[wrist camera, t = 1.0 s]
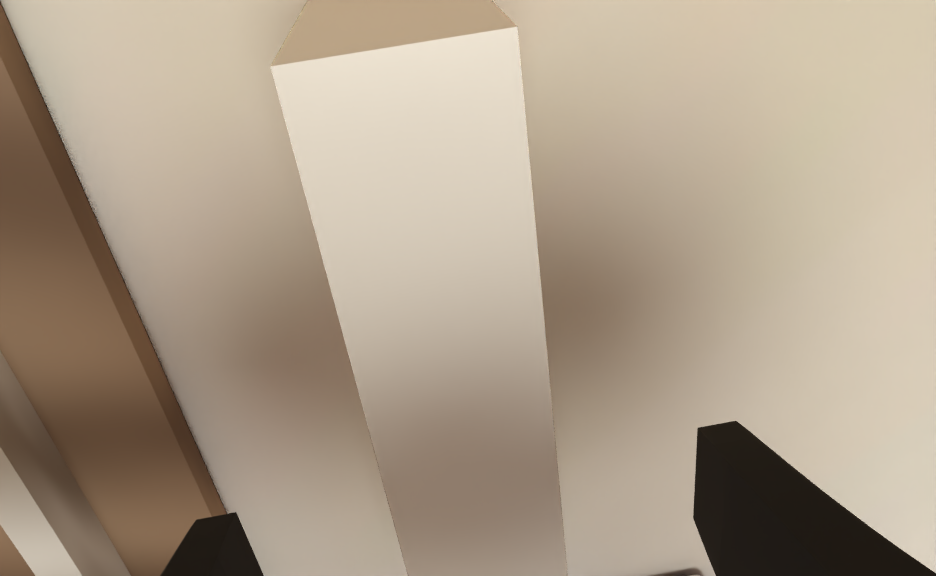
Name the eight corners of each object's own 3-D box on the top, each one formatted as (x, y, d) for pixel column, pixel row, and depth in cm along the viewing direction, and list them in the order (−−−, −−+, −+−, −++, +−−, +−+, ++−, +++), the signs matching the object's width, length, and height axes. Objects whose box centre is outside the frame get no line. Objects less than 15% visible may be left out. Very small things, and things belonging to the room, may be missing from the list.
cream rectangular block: (527, 484, 21) (597, 761, 14) (427, 502, 21) (451, 789, 14) (463, -28, 14) (545, 54, 7) (310, -4, 14) (249, 102, 7)
